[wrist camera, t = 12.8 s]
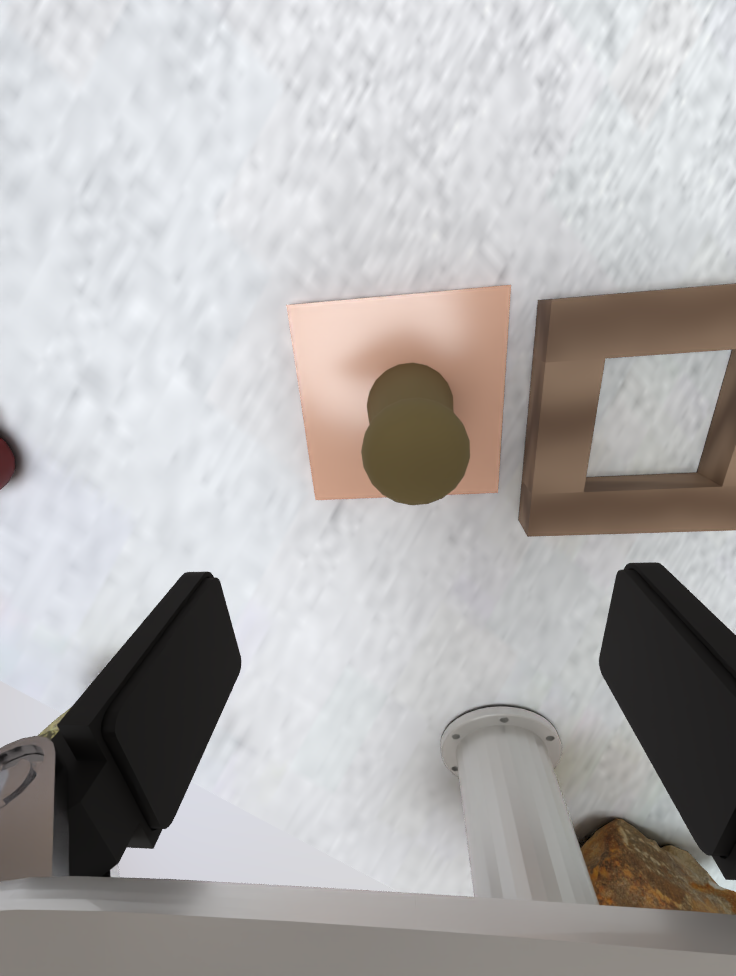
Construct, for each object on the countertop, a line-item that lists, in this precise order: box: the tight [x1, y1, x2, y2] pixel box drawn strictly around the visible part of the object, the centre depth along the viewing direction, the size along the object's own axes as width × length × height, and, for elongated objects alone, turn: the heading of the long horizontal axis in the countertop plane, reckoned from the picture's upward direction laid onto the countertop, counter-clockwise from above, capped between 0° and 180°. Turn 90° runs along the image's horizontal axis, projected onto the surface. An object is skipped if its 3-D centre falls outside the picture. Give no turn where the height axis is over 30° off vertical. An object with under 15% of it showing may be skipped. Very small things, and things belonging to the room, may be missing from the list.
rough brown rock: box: [580, 819, 736, 915], centre depth 44 cm, size 23×17×15 cm
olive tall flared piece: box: [361, 363, 470, 505], centre depth 23 cm, size 6×6×11 cm
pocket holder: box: [518, 283, 736, 536], centre depth 27 cm, size 16×16×2 cm
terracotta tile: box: [286, 285, 511, 500], centre depth 28 cm, size 14×14×1 cm
